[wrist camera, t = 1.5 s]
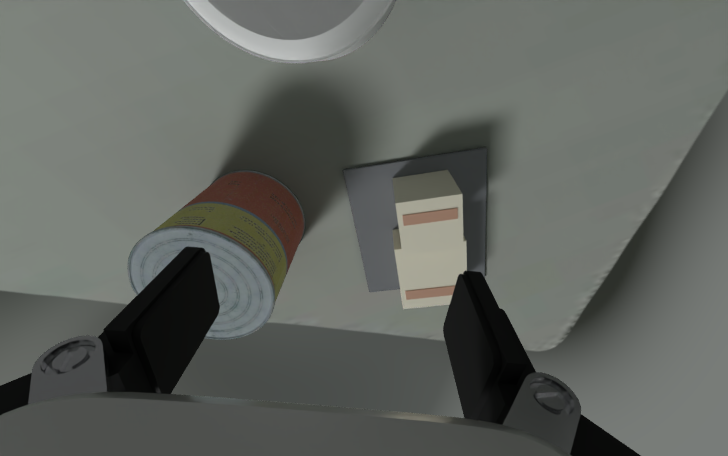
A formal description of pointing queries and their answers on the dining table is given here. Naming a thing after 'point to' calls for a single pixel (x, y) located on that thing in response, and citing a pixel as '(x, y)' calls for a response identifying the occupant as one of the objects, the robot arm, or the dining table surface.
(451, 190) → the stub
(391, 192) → the mat
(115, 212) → the dining table surface
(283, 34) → the jar
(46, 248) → the dining table surface
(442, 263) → the cream striped box
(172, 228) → the canned food
